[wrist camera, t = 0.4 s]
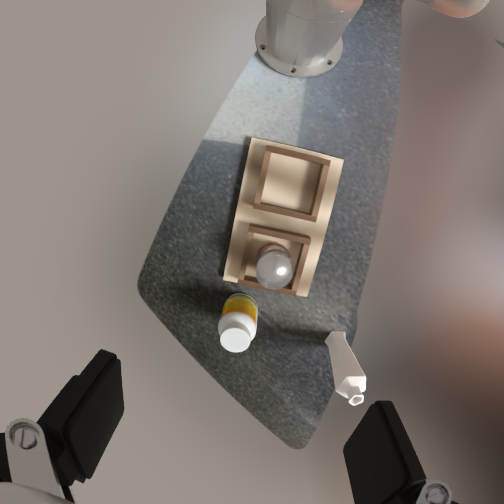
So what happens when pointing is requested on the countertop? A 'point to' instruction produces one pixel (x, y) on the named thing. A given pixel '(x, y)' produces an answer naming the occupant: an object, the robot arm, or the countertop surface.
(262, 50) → the robot arm
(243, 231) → the socket board
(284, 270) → the silver cylinder
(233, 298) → the supplement bottle
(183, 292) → the countertop surface
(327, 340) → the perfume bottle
